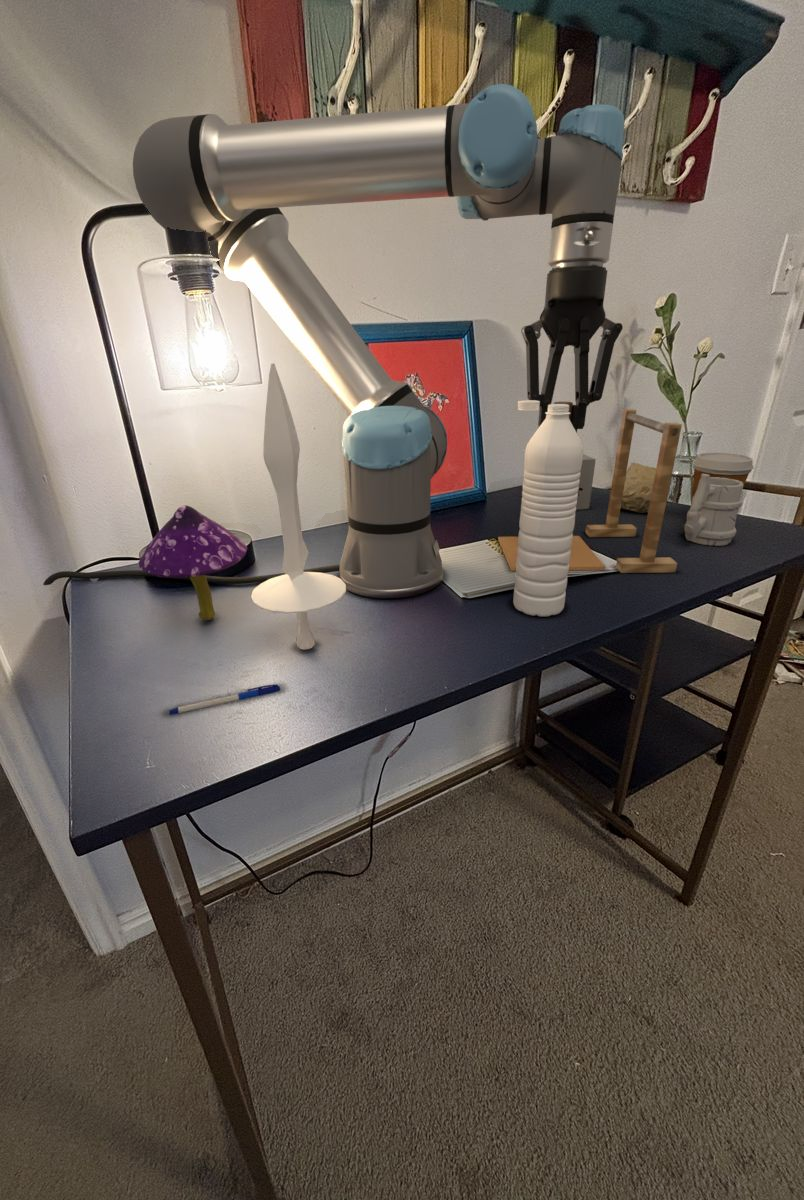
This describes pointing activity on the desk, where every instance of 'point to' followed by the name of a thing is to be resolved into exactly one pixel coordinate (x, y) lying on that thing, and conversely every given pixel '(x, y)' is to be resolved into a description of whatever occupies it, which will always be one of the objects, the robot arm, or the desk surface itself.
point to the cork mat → (578, 560)
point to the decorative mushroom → (192, 552)
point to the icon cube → (585, 482)
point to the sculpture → (290, 524)
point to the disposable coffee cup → (721, 467)
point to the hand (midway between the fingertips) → (558, 451)
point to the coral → (638, 488)
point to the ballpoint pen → (228, 698)
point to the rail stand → (657, 501)
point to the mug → (714, 511)
